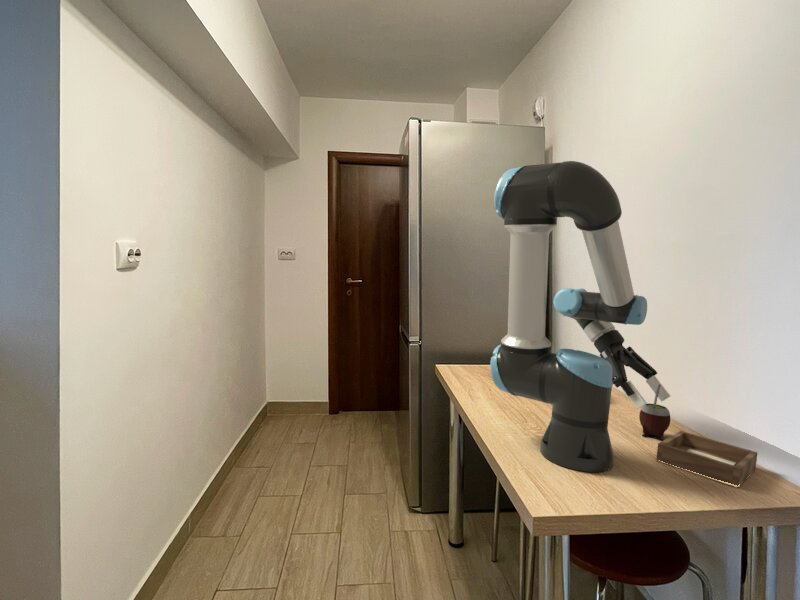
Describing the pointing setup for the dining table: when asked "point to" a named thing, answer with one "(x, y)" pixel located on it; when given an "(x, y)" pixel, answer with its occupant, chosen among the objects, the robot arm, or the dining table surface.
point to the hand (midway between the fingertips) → (654, 402)
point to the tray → (708, 457)
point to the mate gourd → (654, 419)
